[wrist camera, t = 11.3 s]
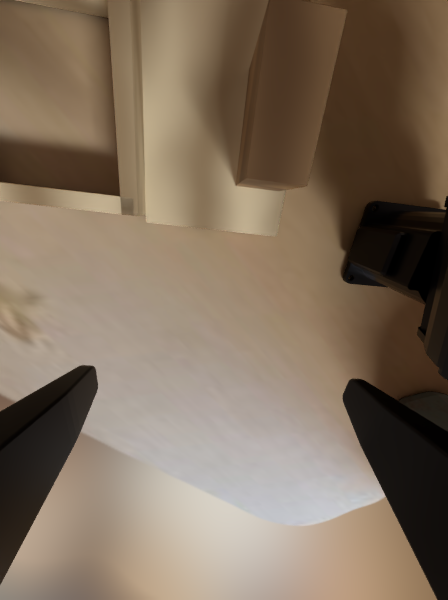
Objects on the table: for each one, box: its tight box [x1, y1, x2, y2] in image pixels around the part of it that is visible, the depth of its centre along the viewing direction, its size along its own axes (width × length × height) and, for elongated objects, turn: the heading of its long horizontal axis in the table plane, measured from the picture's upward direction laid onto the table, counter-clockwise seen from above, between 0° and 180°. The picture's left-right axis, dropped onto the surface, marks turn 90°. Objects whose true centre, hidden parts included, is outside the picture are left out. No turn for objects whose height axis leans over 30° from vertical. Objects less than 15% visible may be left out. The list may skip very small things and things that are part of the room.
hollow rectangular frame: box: [0, 0, 348, 237], centre depth 11 cm, size 20×12×6 cm, turn 84°
